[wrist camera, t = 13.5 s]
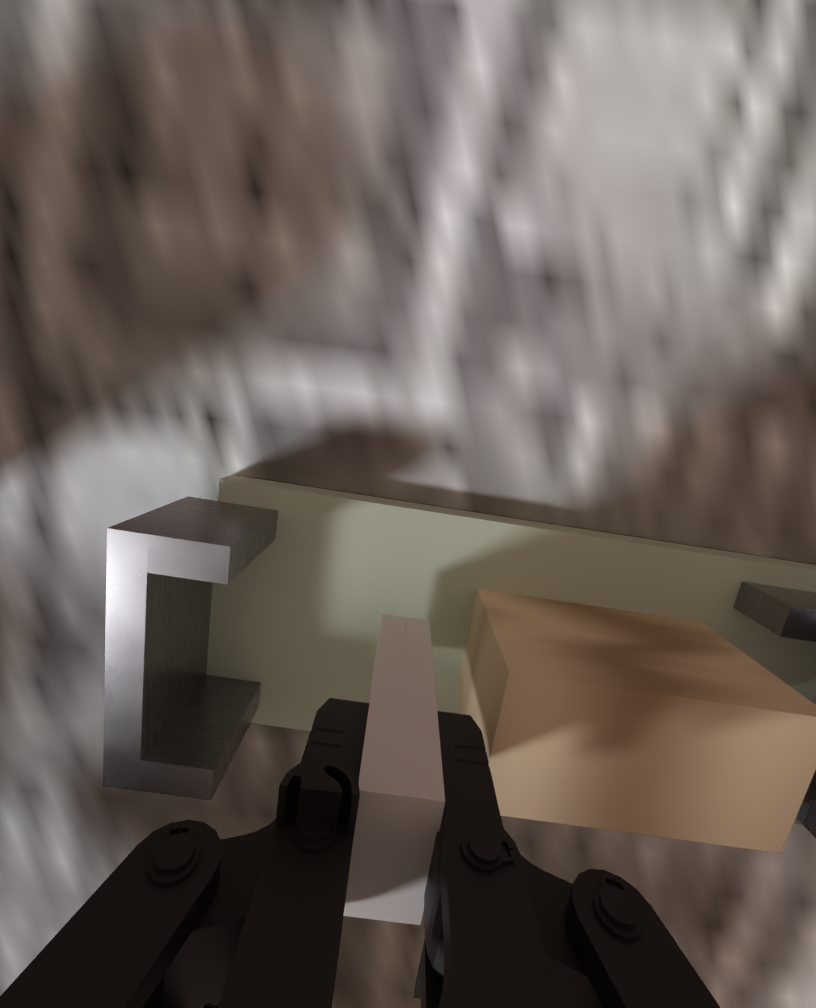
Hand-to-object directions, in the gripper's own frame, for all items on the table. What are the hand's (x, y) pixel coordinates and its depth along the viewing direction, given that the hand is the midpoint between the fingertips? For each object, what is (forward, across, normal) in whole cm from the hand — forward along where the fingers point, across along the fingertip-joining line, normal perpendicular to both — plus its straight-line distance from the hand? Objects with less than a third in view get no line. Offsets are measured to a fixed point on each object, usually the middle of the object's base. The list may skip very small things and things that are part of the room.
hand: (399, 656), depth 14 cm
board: (+3, +7, 0) cm, 8 cm away
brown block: (+2, +6, 0) cm, 7 cm away
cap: (+2, -6, 0) cm, 6 cm away
